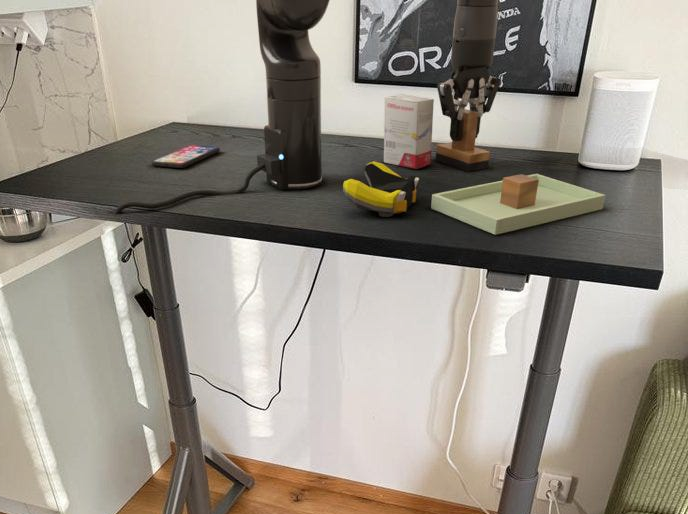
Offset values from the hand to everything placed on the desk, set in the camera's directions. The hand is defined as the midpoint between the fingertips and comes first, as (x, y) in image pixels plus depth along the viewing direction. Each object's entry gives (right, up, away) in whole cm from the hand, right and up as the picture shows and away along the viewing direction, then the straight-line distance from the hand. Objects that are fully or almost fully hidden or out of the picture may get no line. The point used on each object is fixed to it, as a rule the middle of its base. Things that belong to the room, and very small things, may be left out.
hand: (463, 138), depth 140 cm
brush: (0, -4, +3) cm, 5 cm away
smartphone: (-55, -1, +7) cm, 55 cm away
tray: (+5, -21, -20) cm, 30 cm away
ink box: (-11, -4, +3) cm, 12 cm away
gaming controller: (-17, -20, -19) cm, 33 cm away
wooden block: (+5, -20, -21) cm, 29 cm away
